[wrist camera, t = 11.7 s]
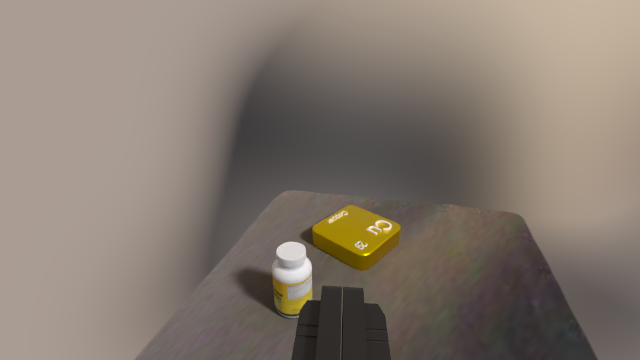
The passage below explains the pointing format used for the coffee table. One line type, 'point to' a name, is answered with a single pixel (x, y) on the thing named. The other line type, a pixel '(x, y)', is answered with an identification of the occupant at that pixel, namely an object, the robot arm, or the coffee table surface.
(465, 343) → the coffee table surface
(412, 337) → the coffee table surface
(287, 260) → the pill bottle
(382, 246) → the element tile
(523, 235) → the coffee table surface
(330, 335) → the robot arm
